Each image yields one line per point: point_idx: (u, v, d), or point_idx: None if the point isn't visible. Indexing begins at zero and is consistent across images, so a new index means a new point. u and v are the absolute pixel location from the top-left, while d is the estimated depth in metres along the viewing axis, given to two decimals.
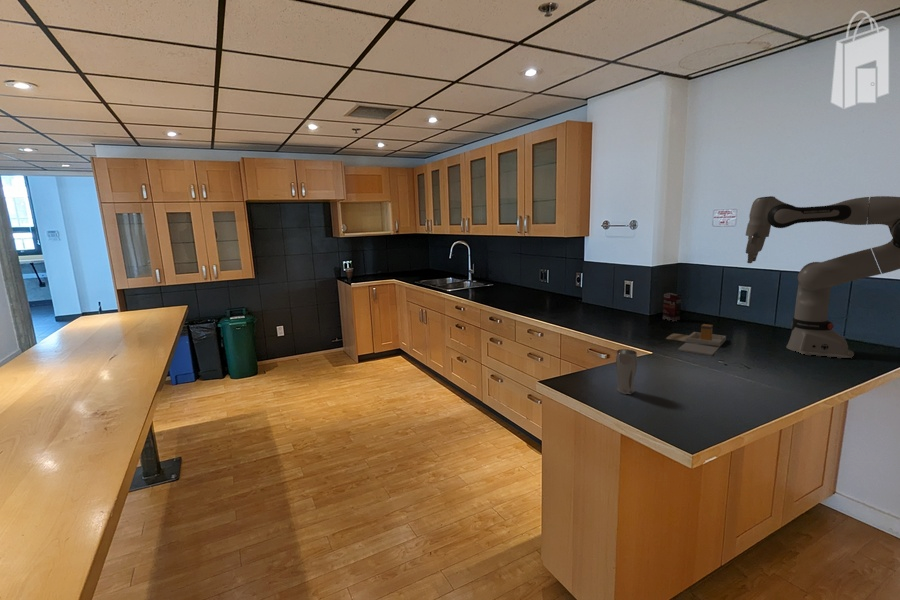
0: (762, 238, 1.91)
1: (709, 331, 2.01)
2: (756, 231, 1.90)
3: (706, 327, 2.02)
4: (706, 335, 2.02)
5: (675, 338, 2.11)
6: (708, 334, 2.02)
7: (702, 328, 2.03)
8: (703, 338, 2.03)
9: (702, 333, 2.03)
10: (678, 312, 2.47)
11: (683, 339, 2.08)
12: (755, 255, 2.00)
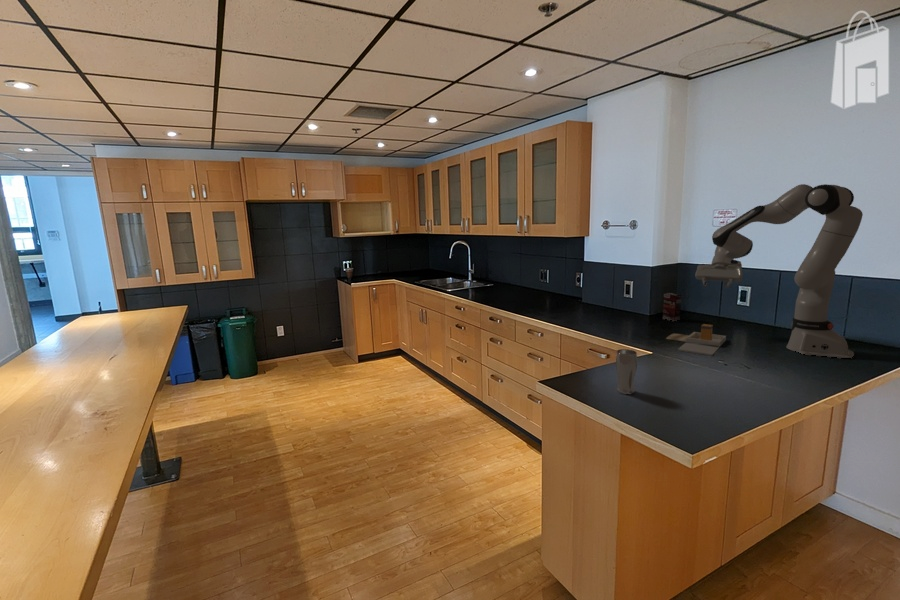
0: (715, 265, 2.13)
1: (709, 331, 2.01)
2: None
3: (706, 327, 2.02)
4: (706, 335, 2.02)
5: (675, 338, 2.11)
6: (708, 334, 2.02)
7: (702, 328, 2.03)
8: (703, 338, 2.03)
9: (702, 333, 2.03)
10: (678, 312, 2.47)
11: (683, 339, 2.08)
12: None
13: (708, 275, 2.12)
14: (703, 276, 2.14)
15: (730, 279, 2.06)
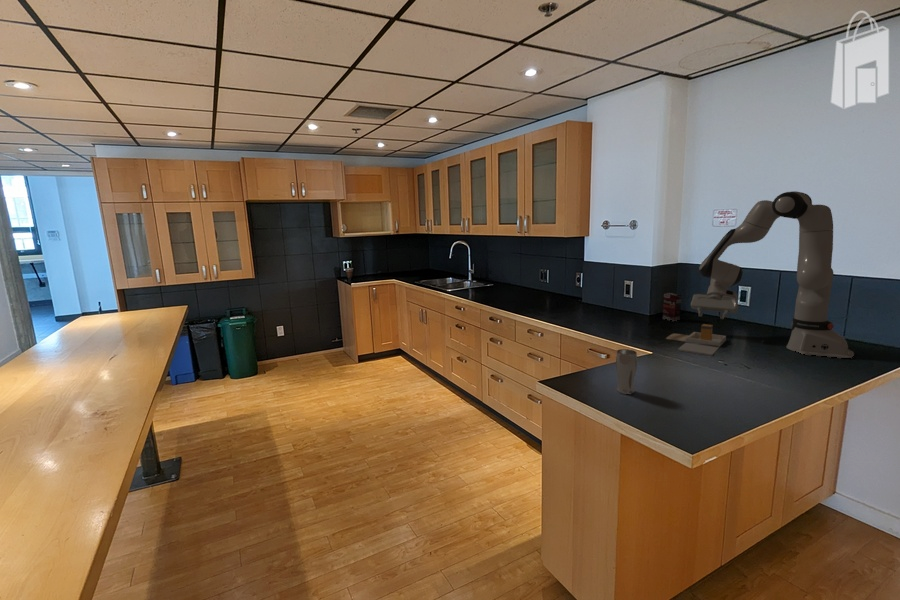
0: (711, 295, 2.12)
1: (709, 331, 2.01)
2: None
3: (706, 327, 2.02)
4: (706, 335, 2.02)
5: (675, 338, 2.11)
6: (708, 334, 2.02)
7: (702, 328, 2.03)
8: (703, 338, 2.03)
9: (702, 333, 2.03)
10: (678, 312, 2.47)
11: (683, 339, 2.08)
12: None
13: (703, 305, 2.11)
14: (698, 306, 2.13)
15: (725, 310, 2.05)
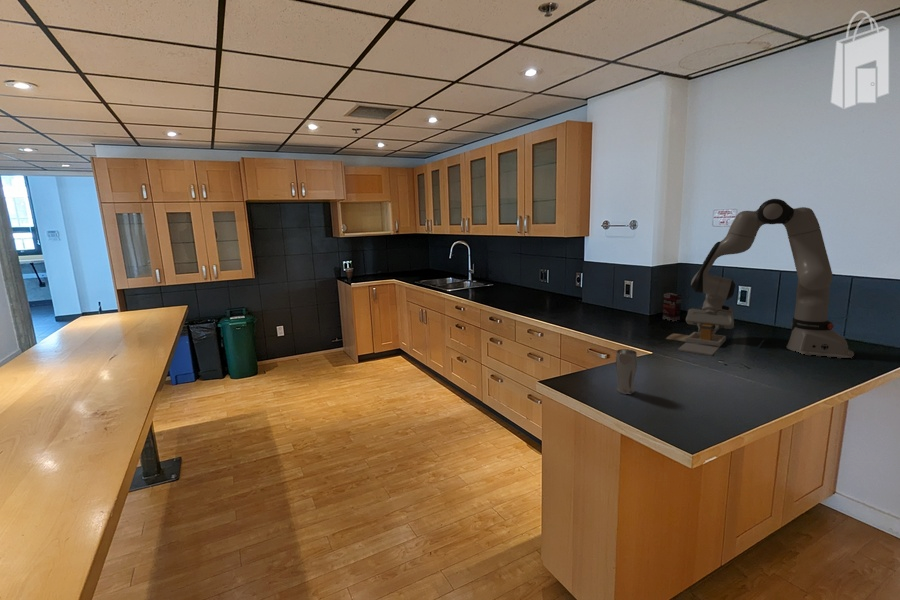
0: (706, 310, 2.07)
1: (709, 331, 2.01)
2: None
3: (706, 327, 2.02)
4: (706, 335, 2.02)
5: (675, 338, 2.11)
6: (708, 334, 2.02)
7: (702, 328, 2.03)
8: (703, 338, 2.03)
9: (702, 333, 2.03)
10: (678, 312, 2.47)
11: (683, 339, 2.08)
12: None
13: (699, 320, 2.07)
14: (694, 321, 2.08)
15: (716, 325, 2.02)
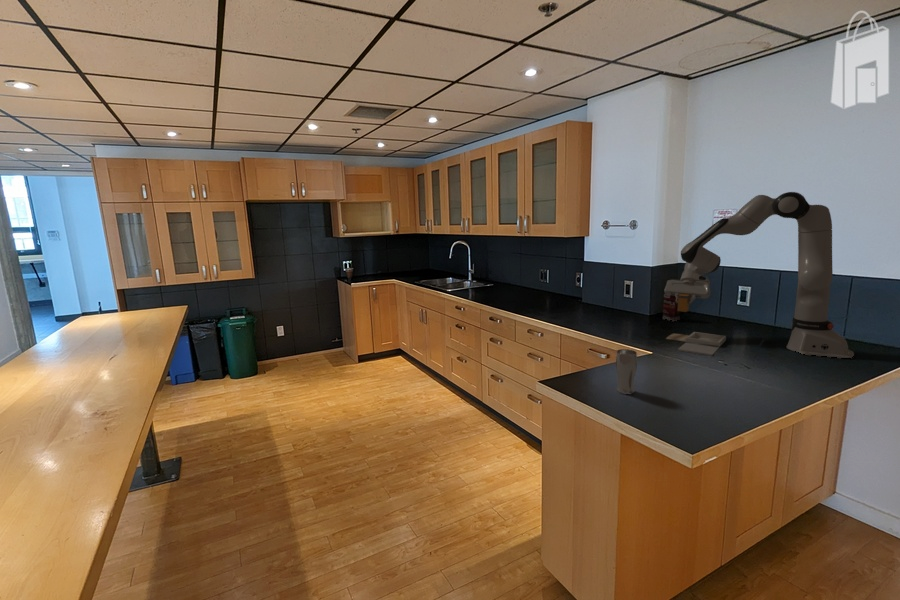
0: (684, 280, 2.12)
1: (686, 300, 2.06)
2: None
3: (683, 296, 2.06)
4: (683, 304, 2.07)
5: (675, 338, 2.11)
6: (685, 303, 2.06)
7: (679, 297, 2.08)
8: (680, 307, 2.08)
9: (679, 303, 2.08)
10: (678, 312, 2.47)
11: (683, 339, 2.08)
12: None
13: (676, 291, 2.12)
14: (672, 292, 2.13)
15: (693, 295, 2.06)
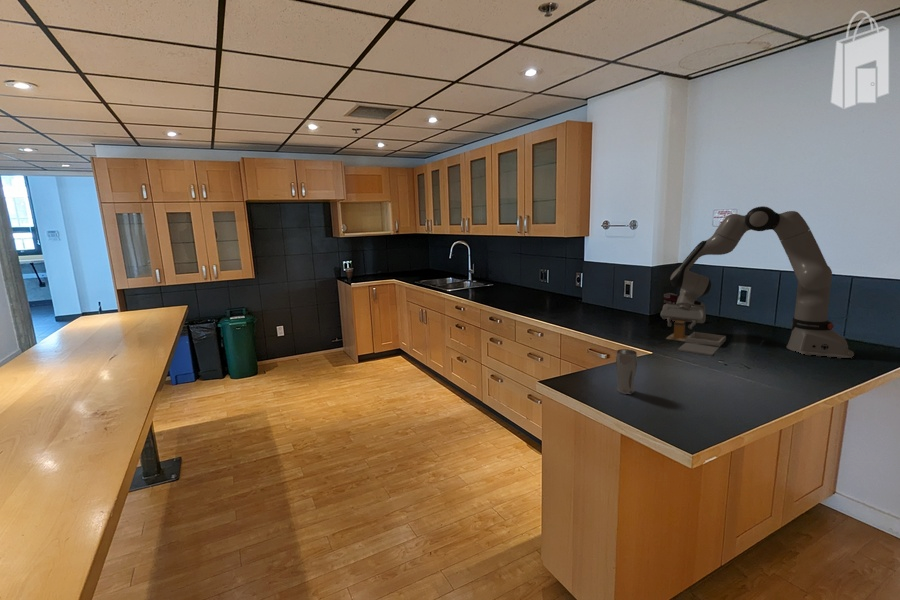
0: (679, 305, 2.15)
1: (682, 327, 2.09)
2: None
3: (679, 323, 2.10)
4: (679, 331, 2.10)
5: (675, 338, 2.11)
6: (681, 330, 2.10)
7: (675, 324, 2.11)
8: (676, 334, 2.11)
9: (675, 329, 2.11)
10: None
11: (683, 339, 2.08)
12: None
13: (672, 315, 2.15)
14: (668, 316, 2.16)
15: (693, 320, 2.08)
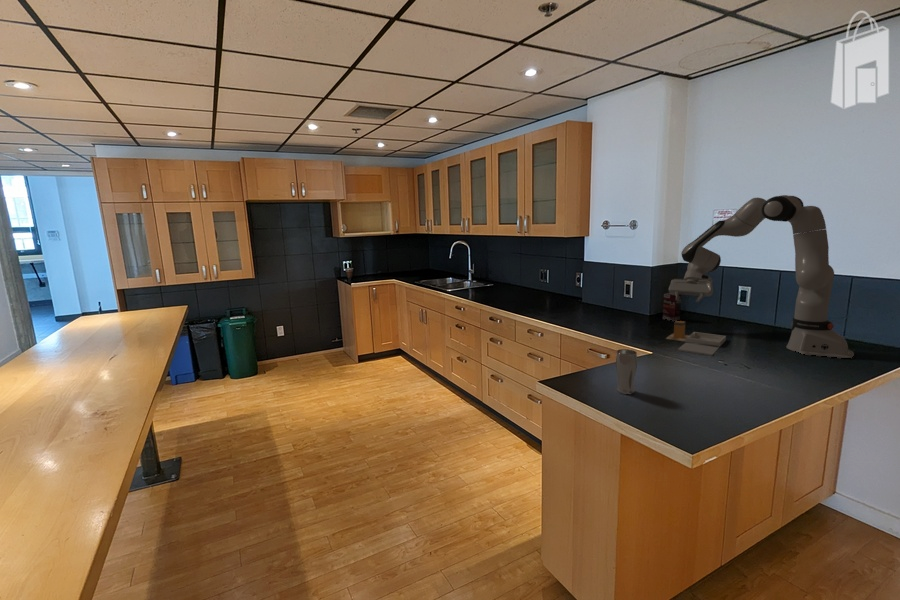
0: (687, 280, 2.21)
1: (682, 327, 2.09)
2: None
3: (679, 323, 2.10)
4: (679, 331, 2.10)
5: (675, 338, 2.11)
6: (681, 330, 2.10)
7: (675, 324, 2.11)
8: (676, 334, 2.11)
9: (675, 329, 2.11)
10: (678, 312, 2.47)
11: (683, 339, 2.08)
12: None
13: (680, 289, 2.21)
14: (676, 290, 2.22)
15: (701, 293, 2.14)
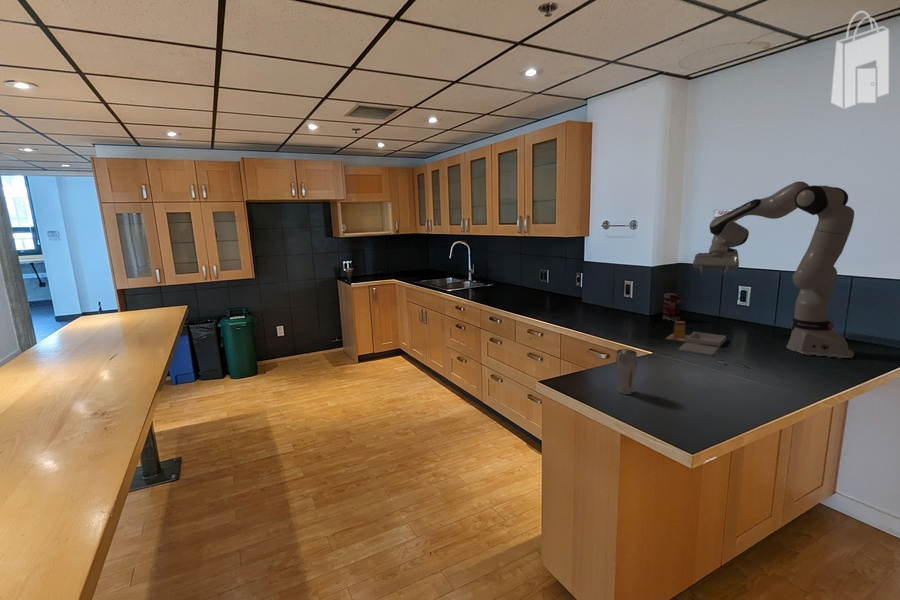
0: (712, 253, 2.19)
1: (682, 327, 2.09)
2: None
3: (679, 323, 2.10)
4: (679, 331, 2.10)
5: (675, 338, 2.11)
6: (681, 330, 2.10)
7: (675, 324, 2.11)
8: (676, 334, 2.11)
9: (675, 329, 2.11)
10: (678, 312, 2.47)
11: (683, 339, 2.08)
12: None
13: (705, 263, 2.18)
14: (700, 264, 2.20)
15: (727, 267, 2.12)
